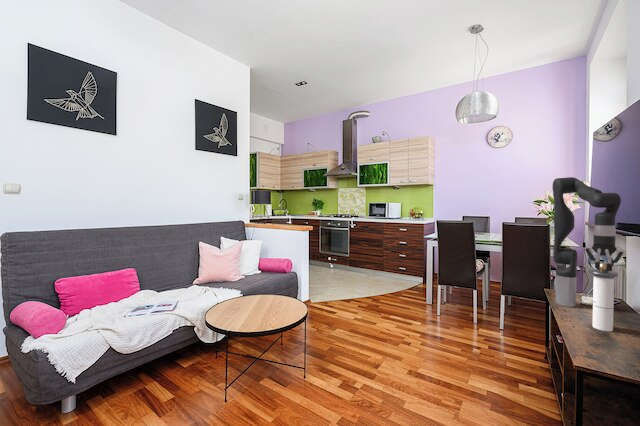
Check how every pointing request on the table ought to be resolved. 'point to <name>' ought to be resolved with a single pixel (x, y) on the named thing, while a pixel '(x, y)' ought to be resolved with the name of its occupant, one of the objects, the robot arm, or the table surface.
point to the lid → (603, 271)
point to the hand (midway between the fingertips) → (603, 270)
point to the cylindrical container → (603, 302)
